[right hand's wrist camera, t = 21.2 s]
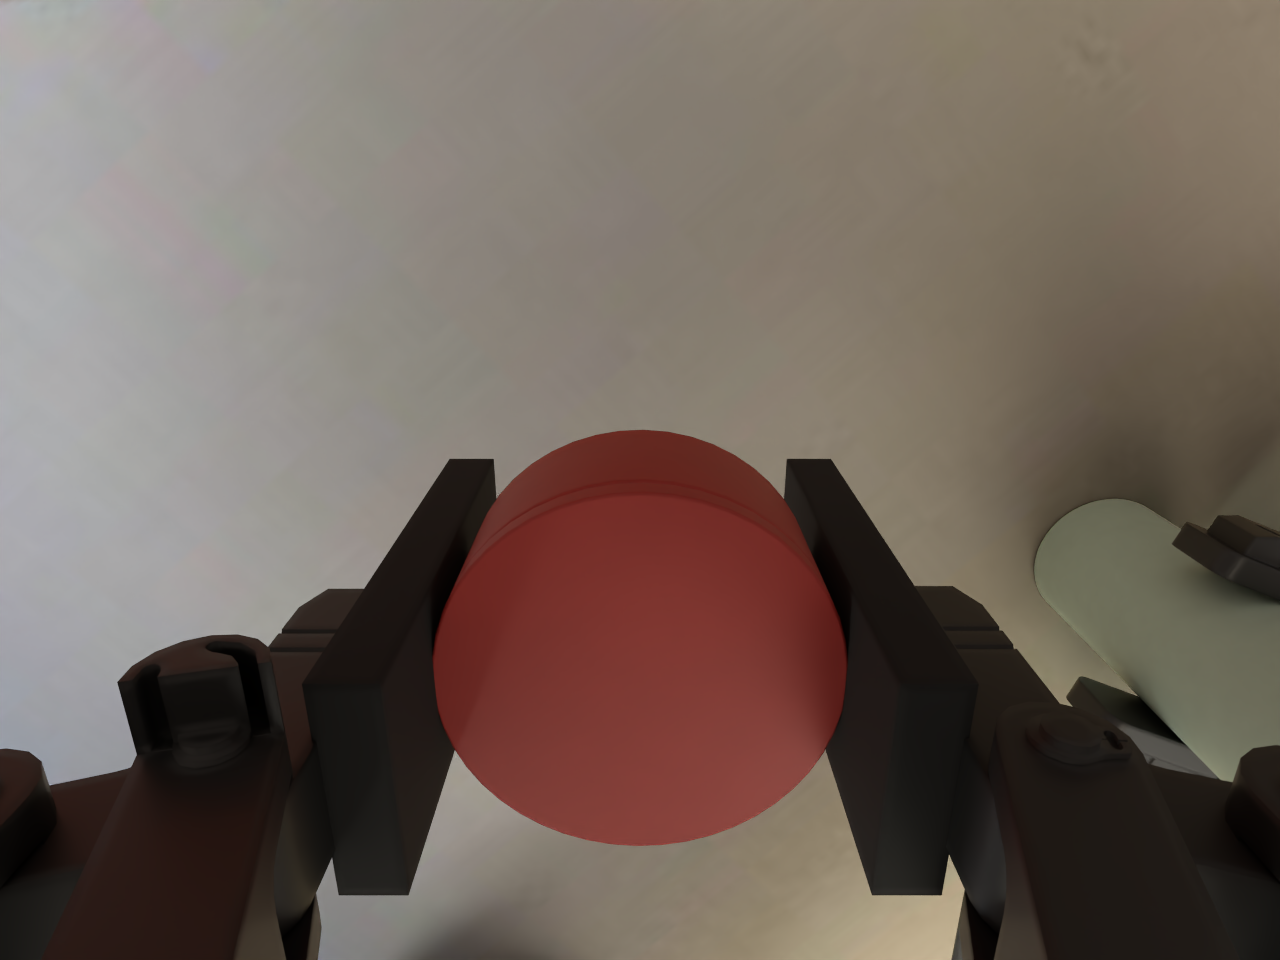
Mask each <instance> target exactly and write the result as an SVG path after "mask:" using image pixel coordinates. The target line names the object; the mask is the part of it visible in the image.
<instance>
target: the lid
mask: <svg viewBox="0 0 1280 960" xmlns="http://www.w3.org/2000/svg"><path fill="white" fill-rule="evenodd" d="M432 659H433V670H434V680H435V689H436V698H437V707H438V712H439V715H440V718H441V721H442V724H443V727H444V729H445V731H446V733H447V735H448V737H449V740H450V742H451V744H452V746H453V748H454V749H455V751H456V752H457V753H458V755H459V756H460V758H461V759H462V761H463V762H464V764H465V765H466V767H467V768H468V769H469V770H470V771H471V772H472V773H473V775H474V776H475V777H476V778H477V779H478V780H479V781H480V782H481V784H482V785H484V786H485V787H486V788H487V789H488V790H489V791H490V792H492V793H493V794H494V795H495V796H496V797H497V798H498V799H500V800H501V801H502V802H504V803H505V804H507V805H508V806H510V807H511V808H513V809H514V810H516V811H517V812H518V813H520V814H522V815H524V816H526V817H528V818H530V819H531V820H533V821H535V822H537V823H539V824H541V825H543V826H546V827H549V828H551V829H554V830H556V831H559V832H561V833H564V834H567V835H571V836H575V837H578V838H582V839H585V840H590V841H596V842H602V843H608V844H617V845H632V846H644V845H664V844H671V843H679V842H686V841H690V840H694V839H698V838H702V837H706V836H710V835H713V834H716V833H718V832H721V831H724V830H727V829H730V828H732V827H734V826H737V825H739V824H741V823H743V822H745V821H747V820H749V819H751V818H753V817H755V816H756V815H758V814H760V813H761V812H763V811H764V810H766V809H767V808H769V807H771V806H772V805H774V804H775V803H776V802H778V801H779V800H780V799H781V798H783V797H784V796H785V795H786V794H787V793H789V792H790V791H791V790H792V789H794V787H795V786H796V785H797V784H798V783H799V782H800V781H801V780H802V779H803V778H804V777H805V776H806V775H807V774H808V773H809V772H810V770H811V769H812V768H813V766H814V765H815V764H816V762H817V761H818V760H819V758H820V757H821V755H822V754H823V753H824V751H825V749H826V747H827V745H828V743H829V741H830V740H831V738H832V736H833V734H834V732H835V729H836V727H837V724H838V721H839V718H840V716H841V713H842V710H843V703H844V694H845V685H846V675H847V665H848V655H847V646H846V639H845V635H844V631H843V628H842V624H841V620H840V617H839V615H838V612H837V610H836V608H835V606H834V603H833V601H832V599H831V596H830V594H829V592H828V590H827V587H826V585H825V583H824V581H823V578H822V576H821V574H820V572H819V569H818V567H817V565H816V563H815V560H814V558H813V556H812V554H811V551H810V549H809V547H808V545H807V543H806V540H805V538H804V536H803V534H802V531H801V529H800V527H799V525H798V522H797V520H796V518H795V516H794V514H793V513H792V511H791V510H790V508H789V506H788V505H787V503H786V502H785V500H784V499H783V498H782V496H781V495H780V494H779V493H778V492H777V490H776V489H775V488H774V487H773V486H772V484H771V483H770V482H769V481H768V480H766V479H765V478H764V477H763V476H762V475H761V474H760V473H759V472H757V471H756V470H755V469H754V468H753V467H751V466H750V465H749V464H747V463H746V462H744V461H743V460H741V459H740V458H738V457H737V456H735V455H734V454H732V453H730V452H728V451H726V450H723V449H721V448H719V447H717V446H715V445H713V444H711V443H708V442H705V441H702V440H699V439H696V438H693V437H690V436H685V435H680V434H676V433H671V432H664V431H651V430H629V431H616V432H610V433H605V434H599V435H594V436H591V437H588V438H584V439H581V440H578V441H574V442H572V443H570V444H567V445H565V446H563V447H561V448H559V449H556V450H554V451H552V452H550V453H549V454H547V455H545V456H544V457H542V458H541V459H539V460H537V461H536V462H534V463H533V464H531V465H530V466H529V467H528V468H526V469H525V470H524V471H523V472H522V473H520V474H519V475H518V476H517V477H515V478H514V479H513V481H512V482H511V483H510V484H509V485H508V486H507V487H506V488H505V489H504V490H503V491H502V493H501V494H500V495H499V496H498V498H497V499H496V501H495V502H494V504H493V505H492V507H491V508H490V509H489V511H488V513H487V515H486V517H485V519H484V521H483V523H482V525H481V527H480V529H479V531H478V533H477V535H476V538H475V540H474V542H473V544H472V547H471V549H470V551H469V553H468V555H467V558H466V560H465V562H464V564H463V567H462V569H461V571H460V573H459V576H458V578H457V580H456V582H455V584H454V587H453V589H452V591H451V593H450V596H449V598H448V600H447V602H446V605H445V607H444V609H443V611H442V614H441V618H440V621H439V624H438V627H437V630H436V634H435V640H434V646H433V656H432Z"/></svg>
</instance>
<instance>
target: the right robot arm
mask: <svg viewBox="0 0 1280 960" xmlns="http://www.w3.org/2000/svg"><path fill="white" fill-rule="evenodd" d="M784 500H785V502H786V503H787V505H788V506H789V508H790V510H791V511H792V513H793V514H794V516H795V518H796V520H797V522H798V525H799V527H800V529H801V531H802V534H803V536H804V538H805V540H806V543H807V545H808V547H809V549H810V551H811V554H812V556H813V558H814V560H815V563H816V565H817V567H818V569H819V572H820V574H821V576H822V578H823V581H824V583H825V585H826V587H827V590H828V592H829V594H830V596H831V599H832V601H833V603H834V606H835V608H836V610H837V612H838V615H839V617H840V620H841V624H842V628H843V631H844V635H845V639H846V646H847V655H848V665H847V675H846V685H845V694H844V703H843V710H842V713H841V716H840V718H839V721H838V724H837V727H836V729H835V732H834V734H833V736H832V738H831V740H830V741H829V743H828V745H827V747H826V752H827V755H828V759H829V762H830V765H831V768H832V771H833V774H834V777H835V780H836V784H837V787H838V790H839V793H840V796H841V799H842V802H843V806H844V809H845V812H846V815H847V818H848V821H849V824H850V827H851V831H852V834H853V837H854V840H855V843H856V846H857V849H858V853H859V856H860V859H861V862H862V865H863V868H864V871H865V874H866V878H867V881H868V884H869V887H870V890H871V893H872V895H942V890H943V885H944V879H945V873H946V868H947V862H948V856H949V855H950V857H951V859H952V862H953V864H954V866H955V868H956V871H957V873H958V875H959V877H960V879H961V882H962V884H963V886H964V888H965V891H964V896H963V902H962V907H961V912H960V918H959V923H958V928H957V933H956V939H955V944H954V949H953V955H952V960H1280V745H1272V746H1265V747H1257V748H1253V749H1251V750H1250V751H1249V752H1247V753H1246V754H1245V755H1244V756H1242V757H1241V758H1240V761H1239V764H1238V767H1237V770H1236V773H1235V777H1234V780H1233V782H1229V781H1224V780H1219V779H1214V778H1209V777H1204V776H1200V775H1195V774H1190V773H1185V772H1180V771H1175V770H1170V769H1166V768H1162V767H1158V766H1155V765H1151V764H1148V763H1147V761H1146V759H1145V757H1144V755H1143V753H1142V752H1141V751H1140V749H1139V748H1138V747H1137V745H1136V744H1135V743H1134V741H1133V740H1132V739H1131V738H1130V736H1128V735H1127V734H1126V733H1124V732H1123V731H1121V730H1120V729H1119V728H1117V727H1116V726H1114V725H1113V724H1112V723H1110V722H1109V721H1107V720H1105V719H1103V718H1100V717H1098V716H1096V715H1094V714H1091V713H1089V712H1087V711H1085V710H1082V709H1079V708H1075V707H1071V706H1067V705H1062V704H1060V703H1059V702H1058V701H1057V700H1056V698H1055V697H1054V696H1053V694H1052V693H1051V692H1050V691H1049V689H1048V688H1047V687H1046V686H1045V684H1044V683H1043V682H1042V680H1041V679H1040V678H1039V677H1038V675H1037V674H1036V673H1035V672H1034V670H1033V669H1032V668H1031V666H1030V665H1029V664H1028V663H1027V661H1026V660H1025V659H1024V658H1023V656H1022V655H1021V654H1020V652H1019V651H1018V650H1017V649H1014V648H1013V644H1012V642H1011V641H1010V640H1009V638H1008V637H1007V636H1006V635H1005V633H1004V632H1003V631H999V626H998V624H997V623H996V622H995V621H994V619H993V618H992V617H991V616H990V614H989V613H988V612H987V610H986V609H985V608H984V607H983V605H982V604H980V603H978V602H977V601H975V600H974V599H972V598H970V597H969V596H967V595H966V594H964V593H963V592H961V591H959V590H958V589H956V588H955V587H953V586H914V585H913V583H912V582H911V580H910V579H909V577H908V575H907V574H906V572H905V571H904V569H903V568H902V566H901V565H900V563H899V562H898V560H897V559H896V557H895V556H894V554H893V553H892V551H891V550H890V548H889V547H888V545H887V544H886V542H885V541H884V539H883V538H882V536H881V534H880V533H879V531H878V530H877V528H876V527H875V525H874V524H873V522H872V521H871V519H870V518H869V516H868V515H867V513H866V512H865V510H864V509H863V507H862V506H861V504H860V503H859V501H858V500H857V498H856V497H855V495H854V493H853V492H852V490H851V489H850V487H849V486H848V484H847V483H846V481H845V480H844V478H843V477H842V475H841V474H840V472H839V471H838V469H837V468H836V466H835V465H834V463H833V462H832V460H831V459H787V465H786V479H785V494H784ZM495 501H496V486H495V472H494V459H449V461H448V462H447V464H446V465H445V467H444V468H443V470H442V472H441V473H440V475H439V476H438V478H437V479H436V481H435V482H434V484H433V485H432V487H431V488H430V490H429V491H428V493H427V494H426V496H425V497H424V499H423V500H422V502H421V503H420V505H419V506H418V508H417V509H416V511H415V513H414V514H413V516H412V517H411V519H410V520H409V522H408V523H407V525H406V526H405V528H404V529H403V531H402V532H401V534H400V535H399V537H398V538H397V540H396V541H395V543H394V544H393V546H392V547H391V549H390V550H389V552H388V554H387V555H386V557H385V558H384V560H383V561H382V563H381V564H380V566H379V567H378V569H377V570H376V572H375V573H374V575H373V576H372V578H371V579H370V581H369V582H368V584H367V585H366V587H365V588H364V589H327V590H326V591H324V592H323V593H321V594H319V595H318V596H316V597H315V598H313V599H312V600H310V601H308V602H307V603H305V604H304V605H302V606H301V607H299V608H298V609H297V611H296V612H295V613H294V615H293V616H292V617H291V618H290V620H289V621H288V622H287V624H286V625H285V626H284V627H283V629H282V634H278V635H277V636H276V638H275V639H274V640H273V641H272V643H271V644H270V645H269V647H267V646H266V645H265V644H263V643H262V642H261V641H260V640H258V639H255V638H251V637H246V636H241V635H211V636H206V637H202V638H197V639H192V640H187V641H183V642H180V643H177V644H175V645H172V646H170V647H167V648H164V649H162V650H159V651H157V652H154V653H153V654H151V655H150V656H148V657H146V658H145V659H143V660H141V661H140V662H138V663H136V664H135V665H133V666H132V667H131V668H130V669H129V670H128V671H127V672H126V673H125V674H124V676H123V677H122V678H121V679H120V680H119V681H118V682H117V683H118V686H119V690H120V694H121V697H122V701H123V705H124V708H125V712H126V716H127V719H128V723H129V727H130V730H131V734H132V738H133V741H134V745H135V749H136V753H137V756H136V758H135V760H134V763H133V765H132V767H131V768H128V769H125V770H121V771H117V772H113V773H108V774H103V775H99V776H94V777H89V778H84V779H79V780H74V781H70V782H65V783H60V784H55V785H50V786H49V784H48V781H47V777H46V774H45V771H44V768H43V765H42V762H41V761H40V760H39V759H37V758H36V757H35V756H34V755H32V754H31V753H30V752H27V751H20V750H13V749H0V960H318V952H319V944H320V935H321V920H320V913H319V907H318V902H317V896H316V892H317V889H318V887H319V885H320V883H321V880H322V878H323V876H324V874H325V871H326V869H327V867H328V865H329V863H330V860H331V858H332V859H333V865H334V870H335V876H336V882H337V887H338V893H339V895H409V892H410V889H411V885H412V882H413V879H414V876H415V873H416V870H417V867H418V864H419V860H420V857H421V854H422V851H423V848H424V845H425V842H426V838H427V835H428V832H429V829H430V826H431V823H432V820H433V817H434V813H435V810H436V807H437V804H438V801H439V798H440V795H441V791H442V788H443V785H444V782H445V779H446V776H447V773H448V770H449V766H450V763H451V760H452V757H453V754H454V751H455V749H454V748H453V746H452V744H451V742H450V740H449V737H448V735H447V733H446V731H445V729H444V727H443V724H442V721H441V718H440V715H439V712H438V707H437V698H436V689H435V680H434V670H433V659H432V656H433V646H434V640H435V634H436V630H437V627H438V624H439V621H440V618H441V614H442V611H443V609H444V607H445V605H446V602H447V600H448V598H449V596H450V593H451V591H452V589H453V587H454V584H455V582H456V580H457V578H458V576H459V573H460V571H461V569H462V567H463V564H464V562H465V560H466V558H467V555H468V553H469V551H470V549H471V547H472V544H473V542H474V540H475V538H476V535H477V533H478V531H479V529H480V527H481V525H482V523H483V521H484V519H485V517H486V515H487V513H488V511H489V509H490V508H491V507H492V505H493V504H494V502H495Z"/></svg>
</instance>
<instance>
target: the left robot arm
mask: <svg viewBox="0 0 1280 960" xmlns="http://www.w3.org/2000/svg"><path fill="white" fill-rule="evenodd" d="M1172 545H1173V546H1174V547H1176V548H1177V549H1179V550H1180V551H1182V552H1183V553H1185V554H1186V555H1188V556H1189V557H1191V558H1192V559H1194V560H1195V561H1197V562H1198V563H1200V564H1201V565H1203V566H1204V567H1205V568H1207V569H1209V570H1210V571H1212V572H1214V573H1216V574H1217V575H1219V576H1221V577H1223V578H1225V579H1227V580H1229V581H1232V582H1234V583H1236V584H1239V585H1241V586H1244V587H1246V588H1249V589H1251V590H1254V591H1256V592H1259V593H1262V594H1264V595H1267V596H1269V597H1272V598H1274V599H1277V600H1279V601H1280V532H1277V531H1275V530H1272V529H1270V528H1268V527H1265V526H1263V525H1260V524H1258V523H1255V522H1253V521H1251V520H1248V519H1246V518H1243V517H1241V516H1239V515H1218V516H1217V518H1216V519H1215V521H1214V522H1213V524H1212V525H1211V526H1210V528H1209V529H1208V530H1207V529H1204V528H1202V527H1199V526H1197V525H1194V524H1192V523H1189V522H1186V523H1185V525H1184V526H1183V528H1182V529H1181V531H1180V532H1179V534H1178V535H1177V536H1176V538H1175V539H1174V541H1173V542H1172ZM1066 698H1067V700H1068V701H1069V702H1070V704H1071V705H1072V706H1073V707H1075V708H1079V709H1082V710H1085V711H1087V712H1089V713H1091V714H1094V715H1096V716H1098V717H1100V718H1103V719H1105V720H1107V721H1109V722H1110V723H1112V724H1113V725H1114V726H1116V727H1117V728H1119V729H1120V730H1121V731H1123V732H1124V733H1126V734H1127V735H1128V736H1130V738H1131V739H1132V740H1133V741H1134V743H1135V744H1136V745H1137V747H1138V748H1139V749H1140V751H1141V752H1142V753H1143V755H1144V757H1145V759H1146V761H1147V763H1148V764H1151V765H1155V766H1158V767H1162V768H1166V769H1170V770H1175V771H1180V772H1185V773H1190V774H1195V775H1200V776H1204V777H1209V778H1214V779H1219V778H1218V777H1217V776H1216V775H1215V774H1214V773H1213V772H1212V771H1211V770H1210V769H1209V768H1208V767H1207V766H1206V765H1205V763H1204V762H1203V761H1202V760H1201V759H1200V758H1199V757H1198V756H1197V755H1196V754H1195V753H1194V752H1193V751H1192V750H1191V749H1190V748H1189V747H1188V746H1187V745H1186V744H1185V743H1184V742H1183V741H1182V740H1181V739H1180V738H1179V737H1178V736H1177V735H1176V734H1175V733H1174V732H1173V731H1172V730H1171V729H1170V728H1169V727H1168V726H1167V725H1166V724H1165V723H1164V722H1163V721H1162V720H1161V719H1160V718H1159V717H1158V715H1157V714H1156V713H1155V712H1154V711H1153V710H1152V709H1151V708H1150V707H1149V706H1148V705H1147V704H1146V703H1145V702H1144V701H1143V700H1142V699H1141V698H1140V697H1138V696H1135V695H1133V694H1130V693H1127V692H1124V691H1122V690H1119V689H1116V688H1114V687H1111V686H1108V685H1105V684H1103V683H1100V682H1097V681H1094V680H1092V679H1089V678H1086V677H1079V678H1078V680H1077V681H1076V683H1075V684H1074V686H1073V687H1072V689H1071V690H1070V692H1069V693H1068V694H1067V696H1066ZM1219 780H1220V779H1219Z"/></svg>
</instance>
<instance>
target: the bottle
mask: <svg viewBox="0 0 1280 960" xmlns="http://www.w3.org/2000/svg"><path fill="white" fill-rule="evenodd" d="M1180 531H1181V529H1180V528H1179V527H1177V526H1176V525H1174V524H1172V523H1171V522H1169V521H1168V520H1166V519H1165V518H1163V517H1161V516H1160V515H1158V514H1157V513H1155V512H1154V511H1152V510H1150V509H1149V508H1147V507H1145V506H1144V505H1142V504H1139V503H1137V502H1134V501H1130V500H1125V499H1105V500H1098V501H1094V502H1090V503H1088V504H1085V505H1082V506H1080V507H1078V508H1076V509H1074V510H1073V511H1071V512H1069V513H1068V514H1066V515H1065V516H1064V517H1062V518H1061V519H1060V520H1059V521H1058V522H1057V523H1056V524H1055V525H1054V526H1053V527H1052V528H1051V529H1050V530H1049V532H1048V533H1047V534H1046V536H1045V537H1044V539H1043V540H1042V542H1041V544H1040V547H1039V549H1038V552H1037V555H1036V559H1035V565H1034V575H1035V581H1036V585H1037V588H1038V590H1039V592H1040V594H1041V596H1042V597H1043V599H1044V600H1045V601H1046V602H1047V603H1048V604H1049V605H1050V606H1051V607H1052V608H1053V609H1054V610H1055V611H1056V612H1057V613H1058V614H1059V615H1060V616H1061V617H1062V618H1063V619H1064V620H1065V621H1066V623H1067V624H1068V625H1069V626H1070V627H1071V628H1072V629H1073V630H1074V631H1075V632H1076V633H1077V634H1078V635H1079V636H1080V637H1081V638H1082V639H1083V640H1084V641H1085V642H1086V643H1087V644H1088V645H1089V646H1090V647H1091V648H1092V649H1093V650H1094V651H1095V652H1096V653H1097V654H1098V655H1099V656H1100V657H1101V658H1102V659H1103V660H1104V661H1105V662H1106V663H1107V664H1108V665H1109V666H1110V667H1111V668H1112V670H1113V671H1114V672H1115V673H1116V674H1117V675H1118V676H1119V677H1120V678H1121V679H1122V680H1123V681H1124V682H1125V683H1126V684H1127V685H1128V686H1129V687H1130V688H1131V689H1132V690H1133V691H1134V692H1135V693H1136V694H1137V695H1138V696H1139V697H1140V698H1141V699H1142V700H1143V701H1144V702H1145V703H1146V704H1147V705H1148V706H1149V707H1150V708H1151V709H1152V710H1153V711H1154V712H1155V713H1156V714H1157V715H1158V717H1159V718H1160V719H1161V720H1162V721H1163V722H1164V723H1165V724H1166V725H1167V726H1168V727H1169V728H1170V729H1171V730H1172V731H1173V732H1174V733H1175V734H1176V735H1177V736H1178V737H1179V738H1180V739H1181V740H1182V741H1183V742H1184V743H1185V744H1186V745H1187V746H1188V747H1189V748H1190V749H1191V750H1192V751H1193V752H1194V753H1195V754H1196V755H1197V756H1198V757H1199V758H1200V759H1201V760H1202V761H1203V762H1204V763H1205V765H1206V766H1207V767H1208V768H1209V769H1210V770H1211V771H1212V772H1213V773H1214V774H1215V775H1216V776H1217V777H1218V778H1219V779H1220V780H1224V781H1229V782H1233V780H1234V777H1235V773H1236V770H1237V767H1238V764H1239V761H1240V758H1241V757H1242V756H1244V755H1245V754H1246V753H1247V752H1249V751H1250V750H1251V749H1253V748H1257V747H1265V746H1272V745H1280V601H1279V600H1277V599H1274V598H1272V597H1269V596H1267V595H1264V594H1262V593H1259V592H1256V591H1254V590H1251V589H1249V588H1246V587H1244V586H1241V585H1239V584H1236V583H1234V582H1232V581H1229V580H1227V579H1225V578H1223V577H1221V576H1219V575H1217V574H1216V573H1214V572H1212V571H1210V570H1209V569H1207V568H1205V567H1204V566H1203V565H1201V564H1200V563H1198V562H1197V561H1195V560H1194V559H1192V558H1191V557H1189V556H1188V555H1186V554H1185V553H1183V552H1182V551H1180V550H1179V549H1177V548H1176V547H1174V546H1173V545H1172V542H1173V541H1174V539H1175V538H1176V536H1177V535H1178V534H1179V532H1180Z"/></svg>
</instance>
